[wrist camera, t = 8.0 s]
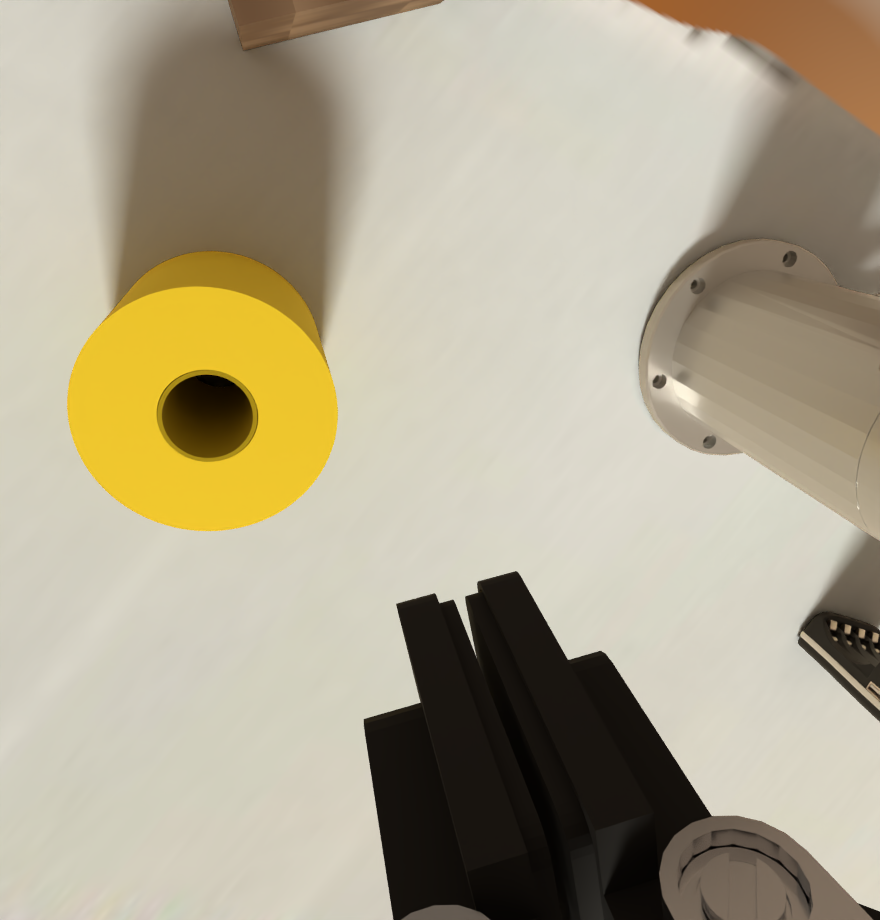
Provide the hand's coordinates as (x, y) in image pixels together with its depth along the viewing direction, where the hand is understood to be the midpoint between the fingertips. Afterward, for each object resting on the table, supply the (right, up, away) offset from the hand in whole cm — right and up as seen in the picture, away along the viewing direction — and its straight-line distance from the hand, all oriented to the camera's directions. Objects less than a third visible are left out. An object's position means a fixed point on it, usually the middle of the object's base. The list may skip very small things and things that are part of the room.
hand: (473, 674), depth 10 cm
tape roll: (-12, +8, +27) cm, 31 cm away
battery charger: (+29, -9, +45) cm, 54 cm away
